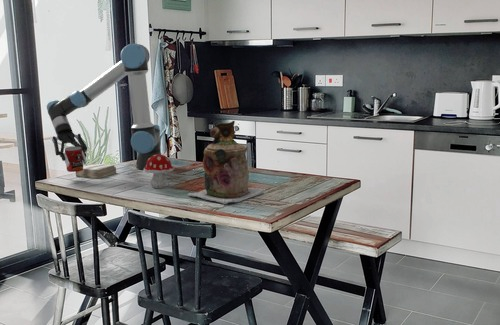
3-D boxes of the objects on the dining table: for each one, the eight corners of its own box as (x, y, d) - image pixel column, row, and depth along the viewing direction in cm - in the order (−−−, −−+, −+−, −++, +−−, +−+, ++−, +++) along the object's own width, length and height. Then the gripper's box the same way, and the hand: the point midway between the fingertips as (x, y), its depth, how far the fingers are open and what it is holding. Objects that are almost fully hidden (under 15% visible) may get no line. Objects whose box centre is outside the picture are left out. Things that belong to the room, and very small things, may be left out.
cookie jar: (224, 186, 244) (223, 116, 237) (267, 194, 228) (267, 119, 222) (185, 197, 225) (182, 121, 219) (229, 206, 210) (227, 125, 203)
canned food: (73, 172, 252) (71, 149, 250) (63, 170, 257) (61, 148, 255) (86, 169, 258) (84, 147, 256) (77, 168, 263) (74, 146, 261)
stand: (116, 172, 275) (115, 165, 274) (98, 178, 262) (98, 170, 261) (94, 170, 280) (93, 163, 279) (76, 176, 267) (75, 168, 267)
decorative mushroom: (157, 182, 252) (155, 150, 249) (181, 185, 246) (179, 153, 243) (137, 188, 240) (135, 155, 237) (162, 191, 234) (161, 158, 231)
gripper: (81, 130, 273) (96, 165, 263) (40, 134, 261) (54, 171, 251) (84, 120, 267) (99, 156, 258) (42, 124, 255) (56, 162, 246)
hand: (76, 163), depth 254 cm, fingers closed on canned food, 8 cm apart
